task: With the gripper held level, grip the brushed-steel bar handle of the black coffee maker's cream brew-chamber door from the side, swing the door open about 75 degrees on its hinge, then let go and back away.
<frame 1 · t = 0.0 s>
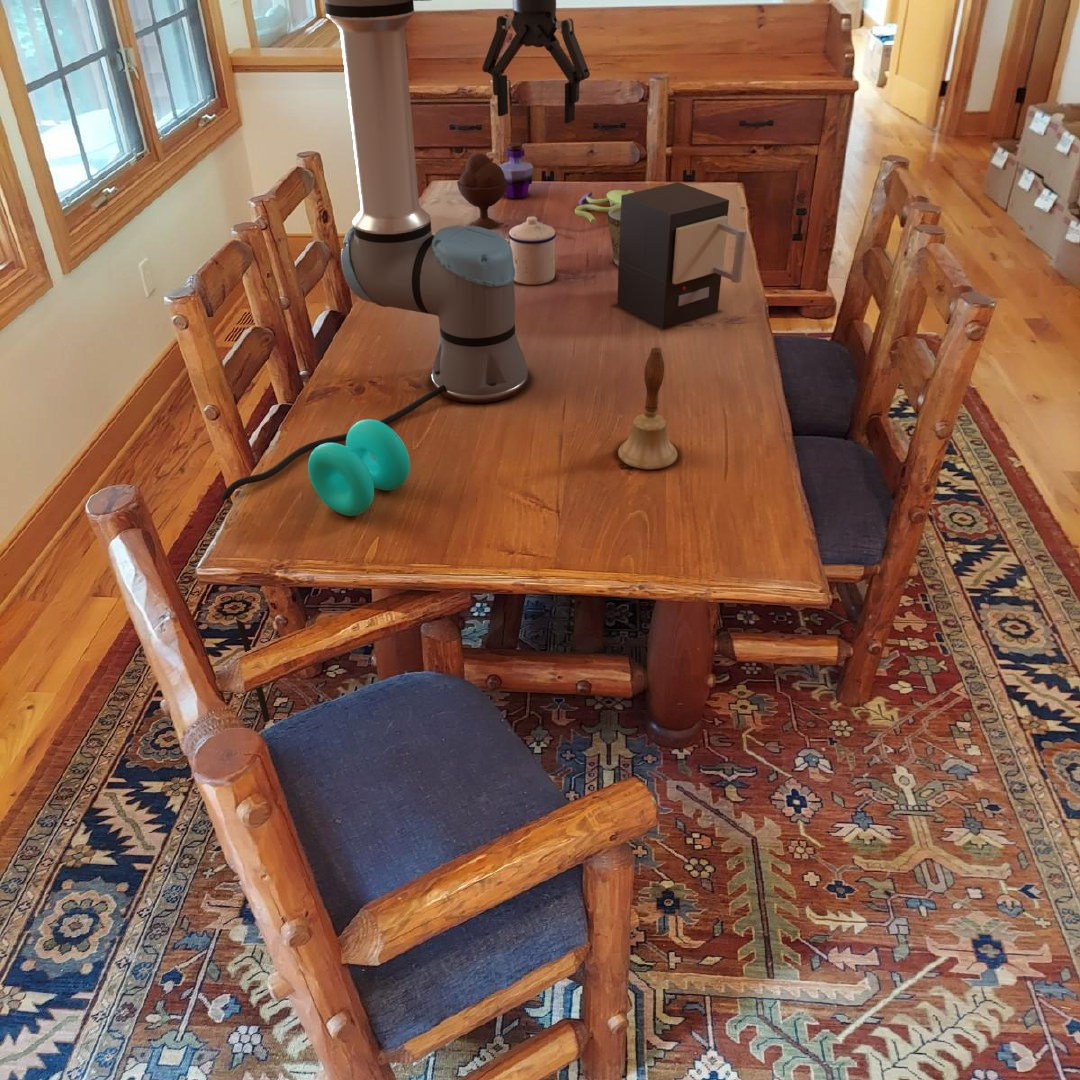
hand: (535, 118, 176), 28 cm above the table, tool pointing down, fingers open, 13 cm apart
figurine: (617, 221, 215), on the table
potion bottle: (516, 196, 231), on the table
hand bell: (647, 455, 134), on the table
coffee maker: (666, 308, 175), on the table
teacup with lid: (525, 277, 189), on the table
chamber door: (712, 254, 161), point 13 cm above the table, hinge at 0.0°
ice cream bowl: (484, 226, 214), on the table
teal yo-yo: (364, 500, 126), on the table
ceramic cup: (632, 261, 195), on the table
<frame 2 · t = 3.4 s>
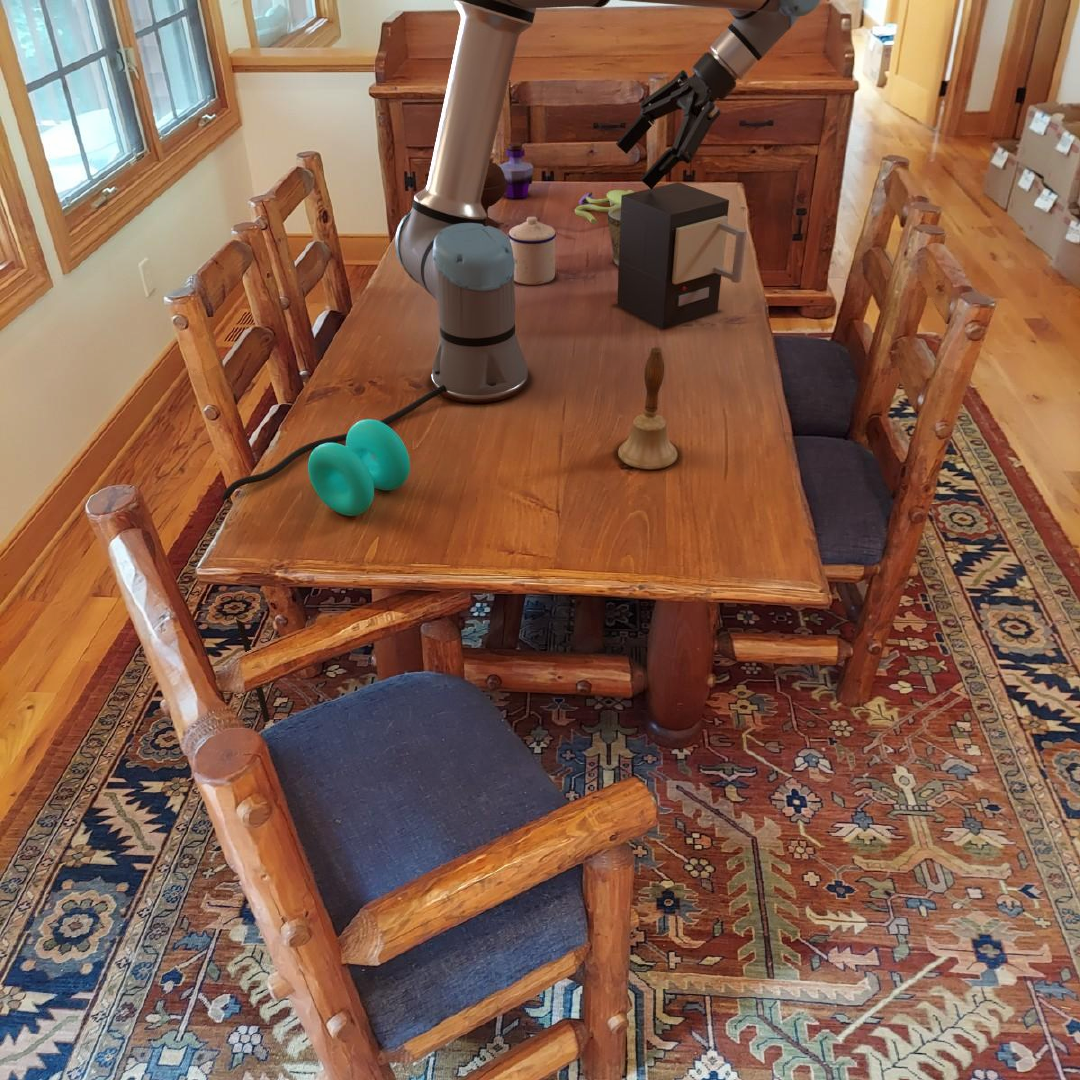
hand: (633, 166, 170), 23 cm above the table, tool tilted 40°, fingers open, 12 cm apart
nothing on the table moved.
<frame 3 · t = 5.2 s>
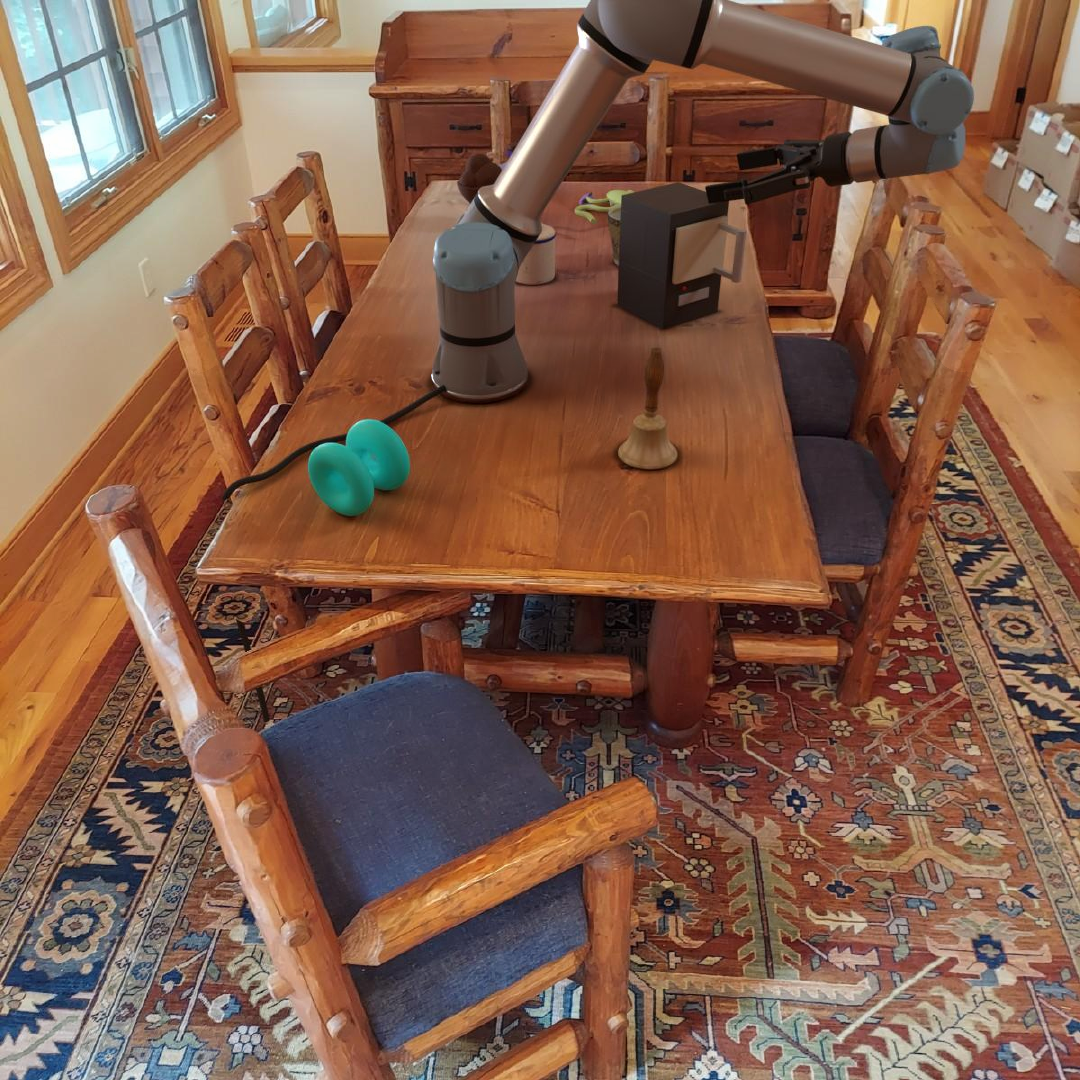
hand: (723, 177, 157), 24 cm above the table, tool tilted 75°, fingers open, 13 cm apart
nothing on the table moved.
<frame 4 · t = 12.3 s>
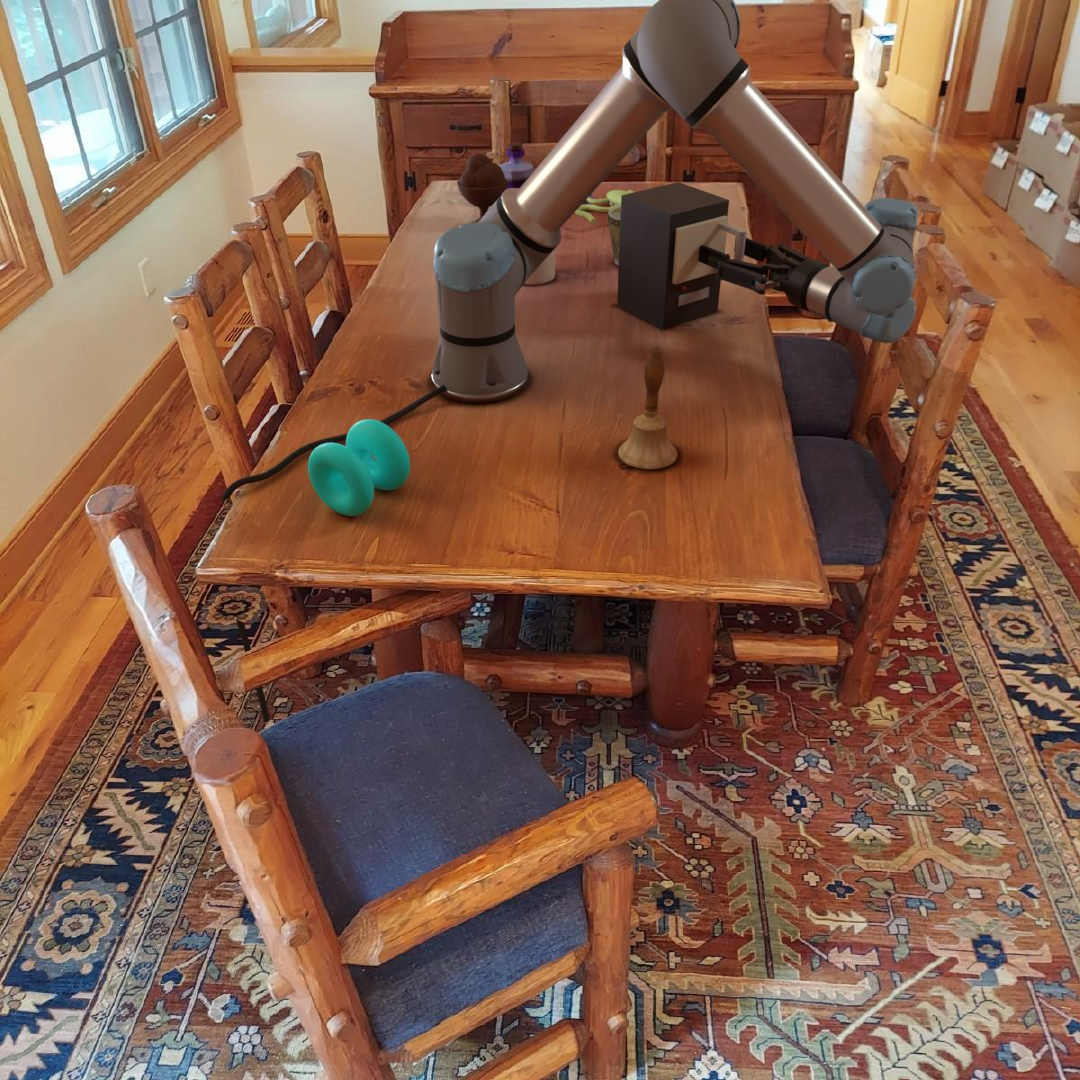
hand: (718, 248, 164), 13 cm above the table, tool horizontal, fingers open, 8 cm apart
chamber door: (712, 254, 161), point 13 cm above the table, hinge at 0.0°, touching gripper
everything else where it was.
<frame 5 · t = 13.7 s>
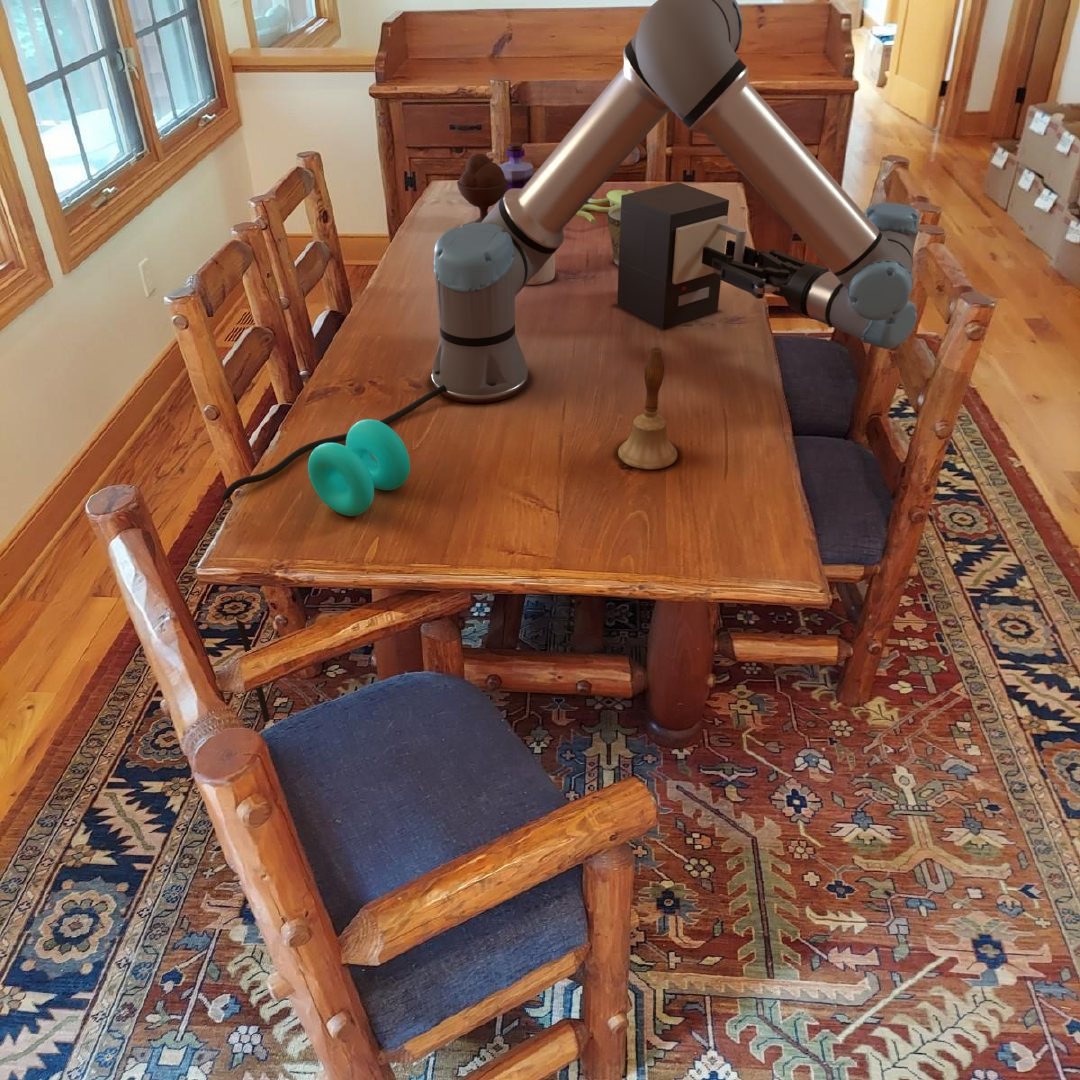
hand: (716, 251, 163), 13 cm above the table, tool horizontal, fingers open, 5 cm apart
chamber door: (712, 254, 161), point 13 cm above the table, hinge at -0.3°, touching gripper
everything else where it was.
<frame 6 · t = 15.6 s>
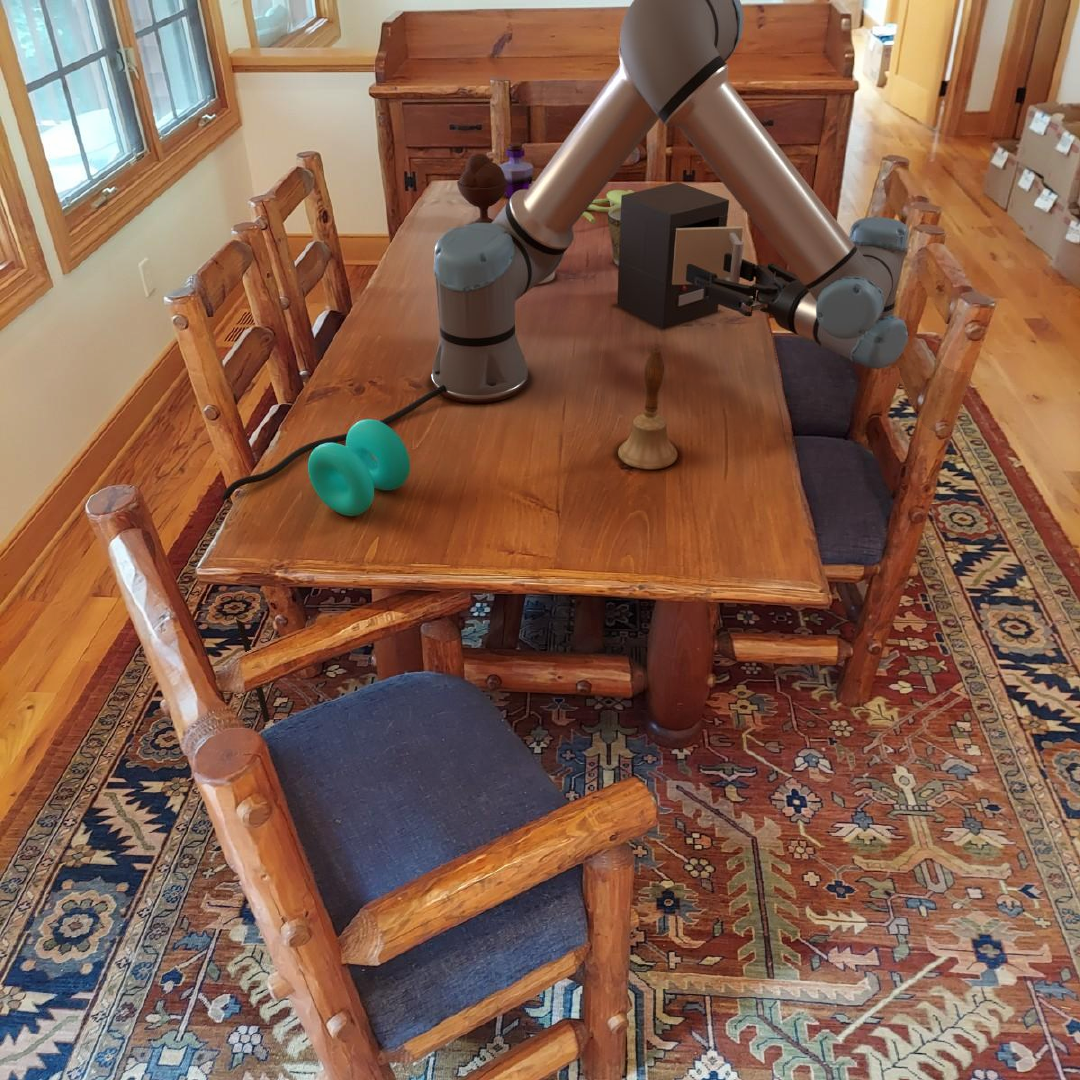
hand: (707, 266, 157), 13 cm above the table, tool horizontal, fingers open, 7 cm apart
chamber door: (710, 262, 158), point 13 cm above the table, hinge at 31.6°, touching gripper
everything else where it was.
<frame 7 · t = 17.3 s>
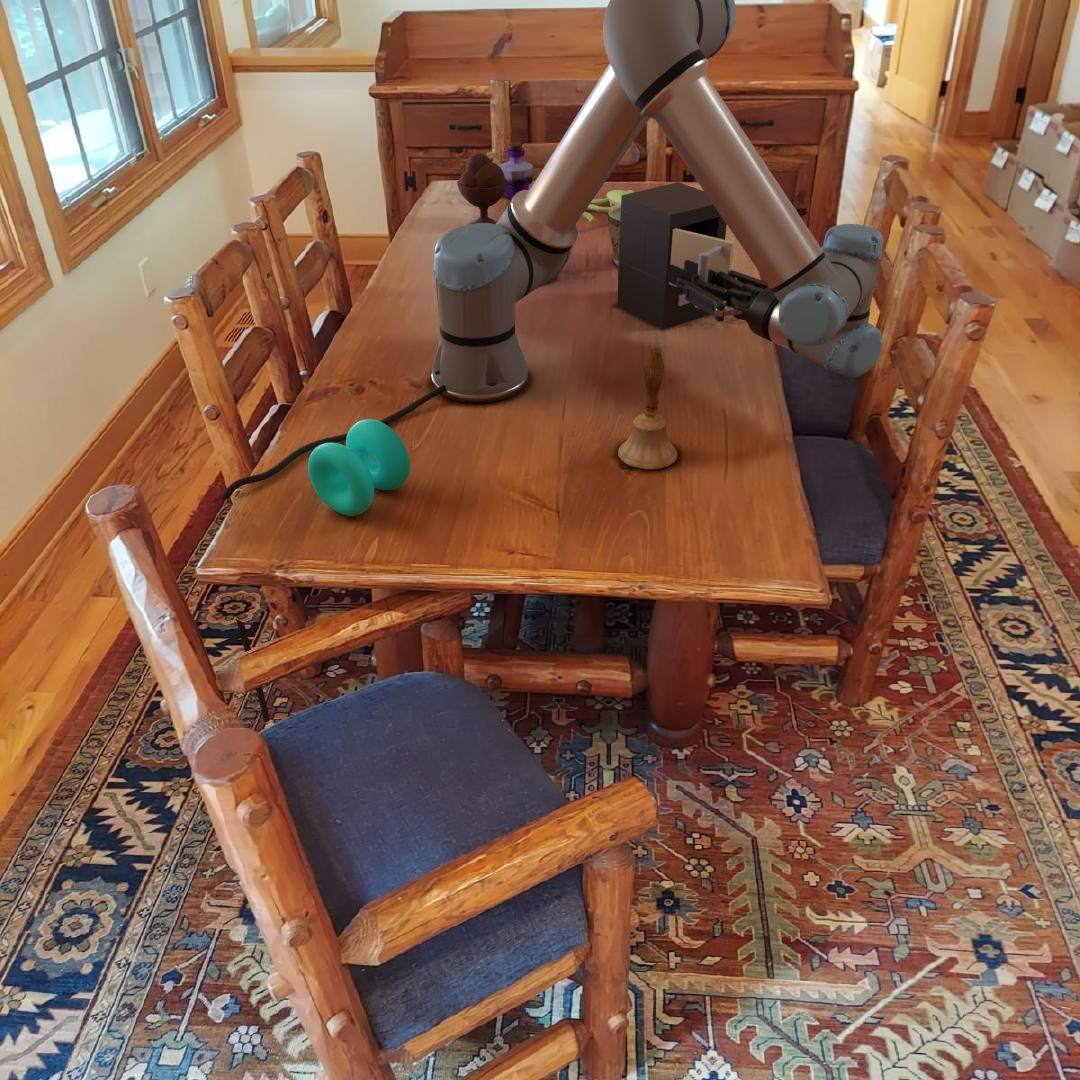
hand: (677, 270, 156), 13 cm above the table, tool horizontal, fingers open, 3 cm apart
chamber door: (691, 269, 156), point 13 cm above the table, hinge at 73.7°
everything else where it was.
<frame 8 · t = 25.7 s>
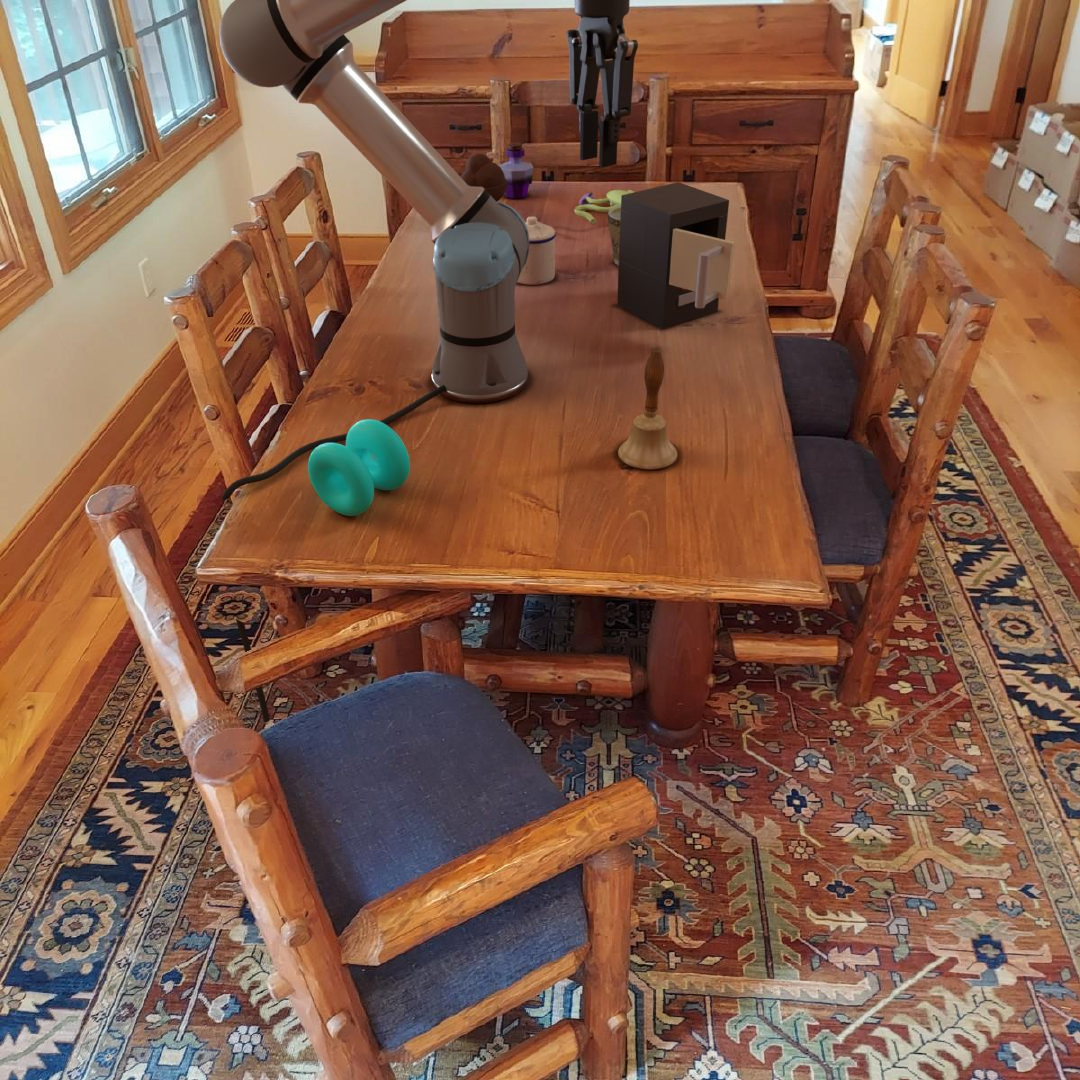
hand: (598, 161, 143), 31 cm above the table, tool pointing down, fingers open, 4 cm apart
nothing on the table moved.
at the end: chamber door at +74° (first picture: +0°); the gripper is holding nothing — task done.
